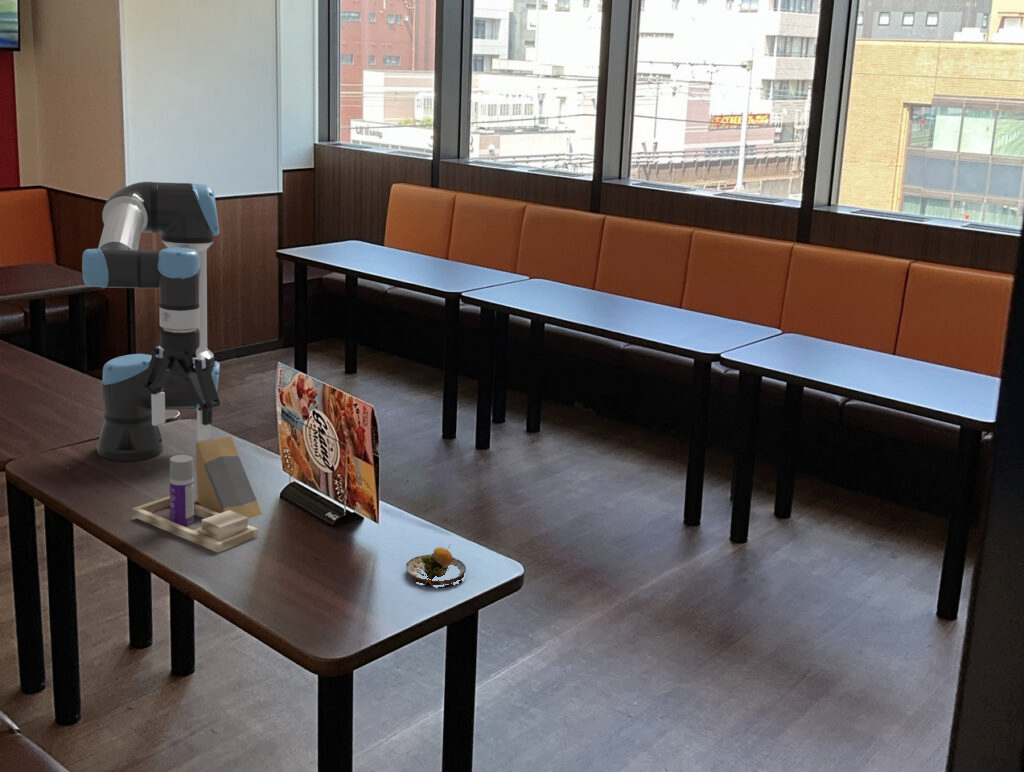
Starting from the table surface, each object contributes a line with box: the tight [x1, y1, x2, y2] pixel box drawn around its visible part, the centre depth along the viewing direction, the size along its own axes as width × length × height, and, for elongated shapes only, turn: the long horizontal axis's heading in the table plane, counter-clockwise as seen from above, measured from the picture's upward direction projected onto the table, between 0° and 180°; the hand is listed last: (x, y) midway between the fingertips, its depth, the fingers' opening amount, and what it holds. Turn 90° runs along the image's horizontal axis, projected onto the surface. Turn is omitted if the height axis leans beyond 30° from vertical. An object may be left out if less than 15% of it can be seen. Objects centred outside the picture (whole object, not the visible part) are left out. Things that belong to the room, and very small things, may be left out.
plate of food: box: [406, 545, 467, 587], centre depth 209 cm, size 12×12×8 cm
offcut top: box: [201, 510, 249, 537], centre depth 215 cm, size 6×7×2 cm
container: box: [169, 454, 195, 527], centre depth 220 cm, size 5×5×15 cm
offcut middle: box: [200, 527, 247, 541], centre depth 215 cm, size 6×7×2 cm
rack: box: [131, 495, 259, 554], centre depth 220 cm, size 26×10×3 cm, turn 56°
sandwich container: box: [195, 435, 264, 519], centre depth 228 cm, size 9×15×15 cm, turn 43°
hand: (181, 431), depth 216 cm, fingers open, 13 cm apart
